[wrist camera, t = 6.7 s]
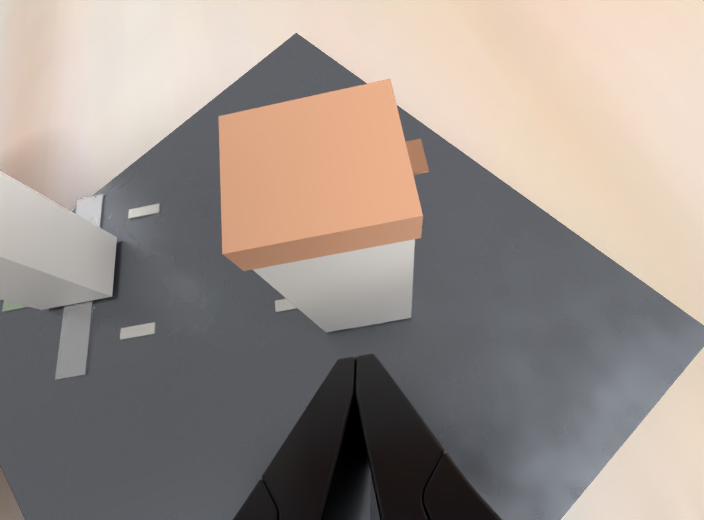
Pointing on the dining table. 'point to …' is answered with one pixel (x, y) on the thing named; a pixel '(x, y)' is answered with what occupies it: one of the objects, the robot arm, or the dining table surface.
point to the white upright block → (50, 251)
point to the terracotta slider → (324, 203)
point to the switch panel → (324, 340)
